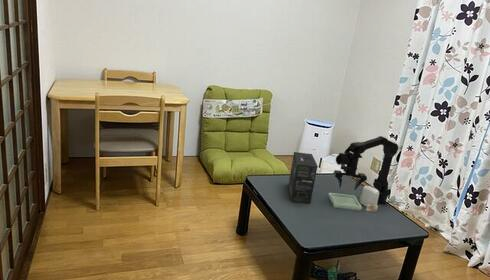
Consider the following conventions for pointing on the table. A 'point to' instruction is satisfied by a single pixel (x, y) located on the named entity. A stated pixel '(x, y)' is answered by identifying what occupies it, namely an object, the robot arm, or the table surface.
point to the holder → (370, 207)
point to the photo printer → (369, 196)
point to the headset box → (302, 177)
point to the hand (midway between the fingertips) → (347, 188)
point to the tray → (344, 201)
